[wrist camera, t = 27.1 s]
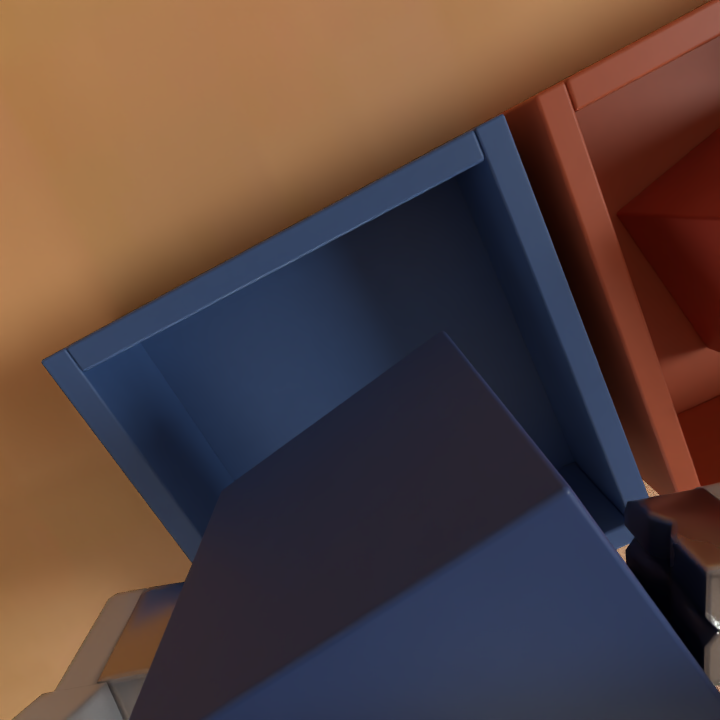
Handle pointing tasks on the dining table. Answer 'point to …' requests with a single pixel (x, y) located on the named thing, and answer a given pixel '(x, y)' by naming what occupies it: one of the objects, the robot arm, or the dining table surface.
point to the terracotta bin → (616, 246)
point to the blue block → (415, 578)
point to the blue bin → (355, 337)
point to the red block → (685, 234)
